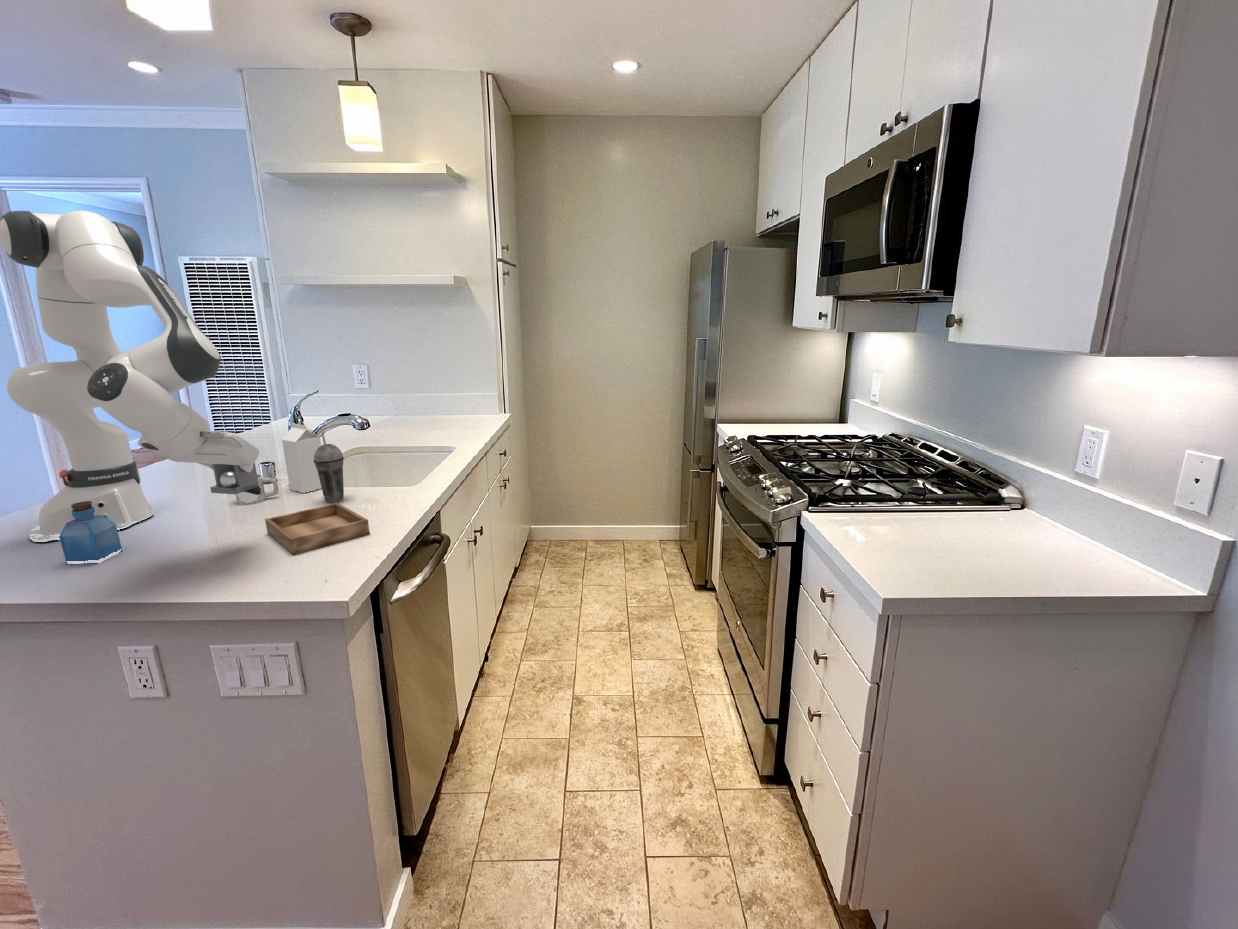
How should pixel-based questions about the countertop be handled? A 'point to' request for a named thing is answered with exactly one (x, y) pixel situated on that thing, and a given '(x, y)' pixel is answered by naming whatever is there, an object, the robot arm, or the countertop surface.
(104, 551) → the perfume bottle
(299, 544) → the walnut tray
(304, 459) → the milk carton
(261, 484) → the mug
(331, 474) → the beverage cup
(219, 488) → the grey ball display stand
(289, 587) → the countertop surface
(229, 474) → the steel ball
